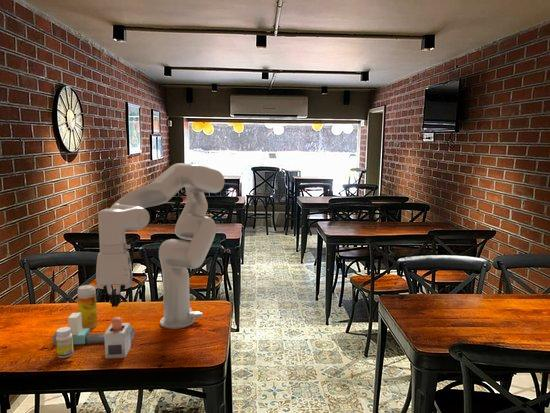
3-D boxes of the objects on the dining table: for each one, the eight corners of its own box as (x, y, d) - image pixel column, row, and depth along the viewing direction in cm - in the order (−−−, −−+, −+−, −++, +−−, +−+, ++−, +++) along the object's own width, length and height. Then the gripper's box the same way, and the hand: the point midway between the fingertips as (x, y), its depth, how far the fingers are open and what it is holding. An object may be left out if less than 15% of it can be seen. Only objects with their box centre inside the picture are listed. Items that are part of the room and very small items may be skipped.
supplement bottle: (60, 351, 140) (58, 326, 139) (75, 350, 141) (74, 325, 140) (54, 358, 136) (52, 332, 134) (70, 357, 136) (68, 332, 135)
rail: (134, 336, 151) (133, 326, 151) (131, 342, 146) (130, 332, 146) (59, 339, 149) (58, 329, 148) (53, 346, 144) (52, 335, 143)
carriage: (89, 336, 150) (88, 311, 149) (84, 344, 144) (82, 317, 143) (68, 337, 149) (66, 312, 148) (62, 345, 144) (60, 318, 143)
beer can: (91, 330, 156) (88, 290, 154) (76, 329, 157) (73, 289, 155) (101, 323, 162) (98, 284, 160) (86, 322, 163) (84, 283, 161)
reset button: (123, 328, 140) (122, 316, 140) (121, 332, 137) (120, 320, 137) (113, 328, 140) (113, 316, 139) (111, 332, 137) (110, 320, 136)
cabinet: (131, 345, 144) (129, 322, 143) (125, 357, 136) (123, 333, 135) (112, 346, 143) (111, 323, 142) (105, 358, 135) (103, 334, 134)
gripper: (140, 245, 139) (142, 300, 142) (91, 246, 138) (94, 302, 140) (135, 250, 132) (137, 309, 134) (83, 252, 130) (87, 310, 133)
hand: (115, 305), depth 137 cm, fingers closed
